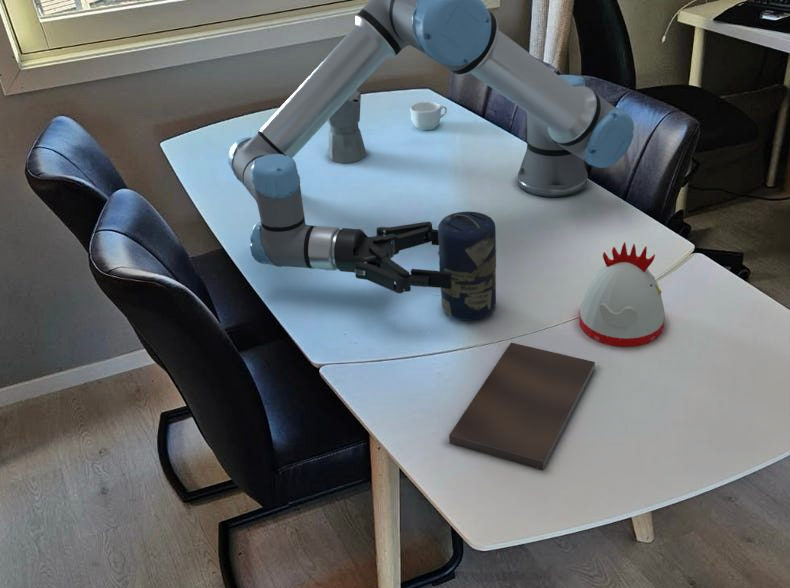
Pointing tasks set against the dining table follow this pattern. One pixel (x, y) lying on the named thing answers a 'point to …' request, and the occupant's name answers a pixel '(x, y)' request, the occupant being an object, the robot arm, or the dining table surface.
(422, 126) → the teacup
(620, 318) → the kitchen timer
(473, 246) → the canister
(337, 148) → the coffeepot
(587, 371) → the serving board
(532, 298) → the dining table surface
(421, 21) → the robot arm
